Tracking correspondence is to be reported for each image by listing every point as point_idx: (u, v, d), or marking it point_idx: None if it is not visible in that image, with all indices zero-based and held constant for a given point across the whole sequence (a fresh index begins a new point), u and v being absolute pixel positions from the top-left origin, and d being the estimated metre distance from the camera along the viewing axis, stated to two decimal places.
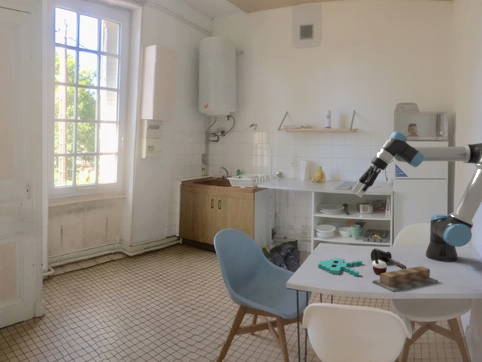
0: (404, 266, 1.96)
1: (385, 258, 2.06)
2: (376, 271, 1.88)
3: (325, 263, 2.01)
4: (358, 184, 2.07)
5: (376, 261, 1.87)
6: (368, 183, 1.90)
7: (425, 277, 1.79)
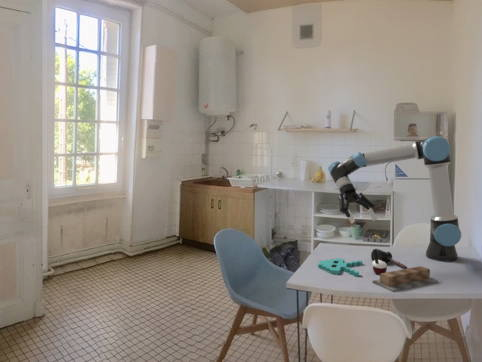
0: (405, 266, 1.96)
1: (385, 258, 2.05)
2: (376, 271, 1.88)
3: (325, 263, 2.01)
4: (369, 212, 2.03)
5: (376, 261, 1.87)
6: (340, 210, 1.98)
7: (425, 277, 1.79)
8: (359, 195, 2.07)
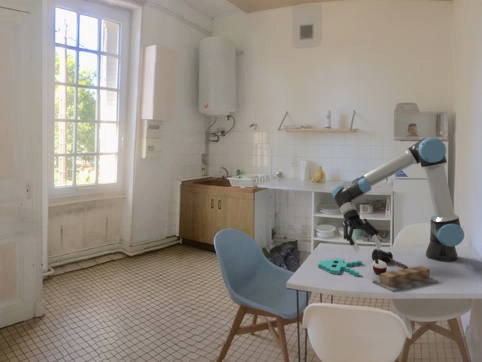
0: (406, 266, 1.96)
1: (386, 258, 2.05)
2: (376, 271, 1.88)
3: (325, 263, 2.01)
4: (373, 239, 2.00)
5: (376, 261, 1.87)
6: (344, 238, 1.95)
7: (425, 277, 1.79)
8: (363, 221, 2.04)
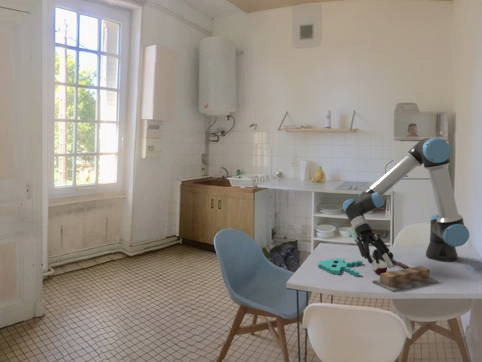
0: (407, 266, 1.95)
1: None
2: (376, 271, 1.88)
3: (325, 263, 2.01)
4: (384, 258, 1.91)
5: (377, 261, 1.87)
6: (362, 256, 1.88)
7: (425, 277, 1.79)
8: (376, 236, 1.97)
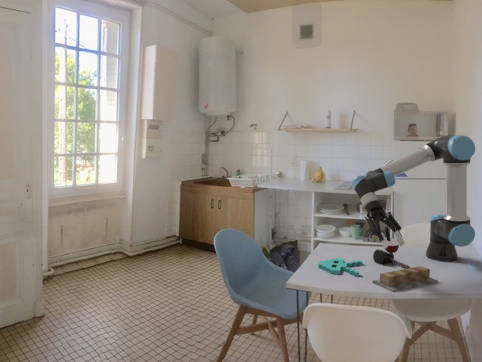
0: (408, 267, 1.95)
1: (388, 259, 2.04)
2: (387, 249, 1.79)
3: (326, 263, 2.01)
4: (395, 235, 1.82)
5: (388, 238, 1.79)
6: (372, 233, 1.80)
7: (425, 277, 1.79)
8: (387, 214, 1.88)
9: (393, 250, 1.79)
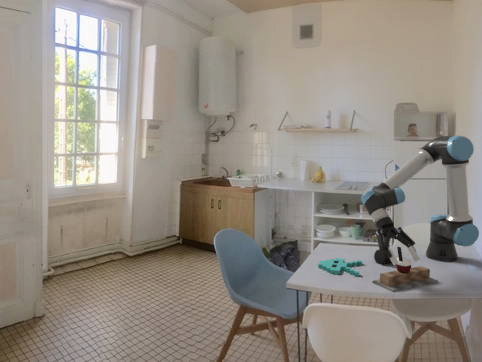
0: None
1: (389, 259, 2.04)
2: (400, 269, 1.74)
3: (326, 263, 2.01)
4: (410, 251, 1.79)
5: (400, 258, 1.74)
6: (380, 250, 1.74)
7: (425, 277, 1.79)
8: (398, 230, 1.84)
9: (406, 270, 1.74)
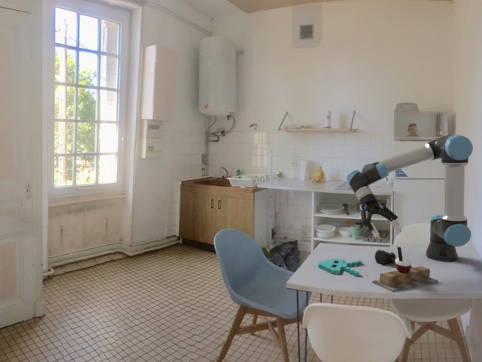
0: None
1: (390, 259, 2.04)
2: (400, 269, 1.74)
3: (326, 263, 2.01)
4: (392, 224, 1.90)
5: (400, 258, 1.74)
6: (362, 223, 1.84)
7: (425, 277, 1.79)
8: (381, 206, 1.94)
9: (406, 270, 1.74)
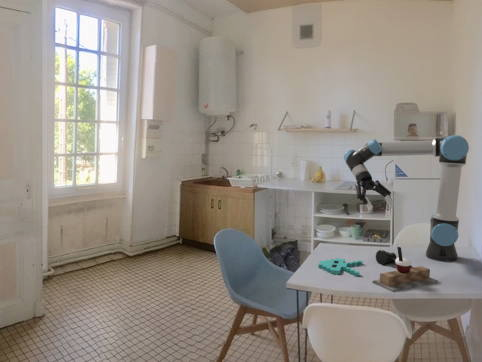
0: (412, 267, 1.94)
1: (391, 259, 2.03)
2: (400, 269, 1.74)
3: (326, 263, 2.01)
4: (386, 199, 2.03)
5: (400, 258, 1.74)
6: (357, 197, 1.98)
7: (425, 277, 1.79)
8: (375, 183, 2.07)
9: (406, 270, 1.74)
